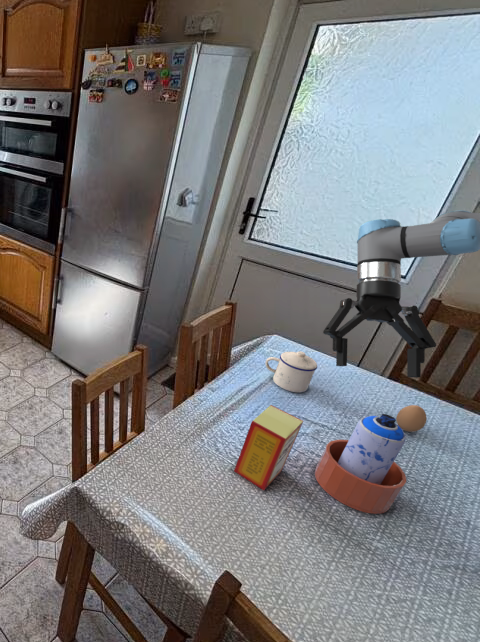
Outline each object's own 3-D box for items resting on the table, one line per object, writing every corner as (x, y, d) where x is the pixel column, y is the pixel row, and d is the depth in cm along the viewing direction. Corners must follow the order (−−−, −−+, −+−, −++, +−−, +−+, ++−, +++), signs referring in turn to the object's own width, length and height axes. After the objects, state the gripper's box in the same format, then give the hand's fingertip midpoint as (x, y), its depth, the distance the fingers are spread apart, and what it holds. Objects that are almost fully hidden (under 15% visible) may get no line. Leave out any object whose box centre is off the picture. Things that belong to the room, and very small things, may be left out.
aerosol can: (374, 483, 94) (413, 415, 85) (375, 506, 89) (416, 437, 80) (330, 464, 99) (363, 399, 90) (328, 486, 93) (363, 419, 85)
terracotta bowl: (388, 483, 95) (403, 458, 91) (392, 525, 86) (409, 499, 82) (316, 455, 102) (327, 431, 99) (312, 490, 93) (325, 465, 90)
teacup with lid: (309, 383, 128) (322, 351, 123) (306, 397, 121) (319, 365, 116) (263, 368, 135) (274, 337, 130) (258, 381, 129) (269, 350, 124)
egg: (423, 438, 107) (437, 415, 103) (398, 434, 108) (411, 411, 105) (411, 425, 111) (424, 402, 108) (387, 420, 113) (399, 398, 109)
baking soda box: (252, 453, 103) (271, 403, 97) (282, 470, 98) (304, 419, 92) (233, 471, 99) (252, 420, 92) (263, 490, 94) (285, 438, 87)
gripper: (431, 293, 99) (432, 381, 95) (308, 280, 106) (304, 362, 102) (458, 286, 92) (460, 381, 88) (324, 273, 99) (321, 360, 95)
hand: (376, 371), depth 95 cm, fingers open, 13 cm apart
